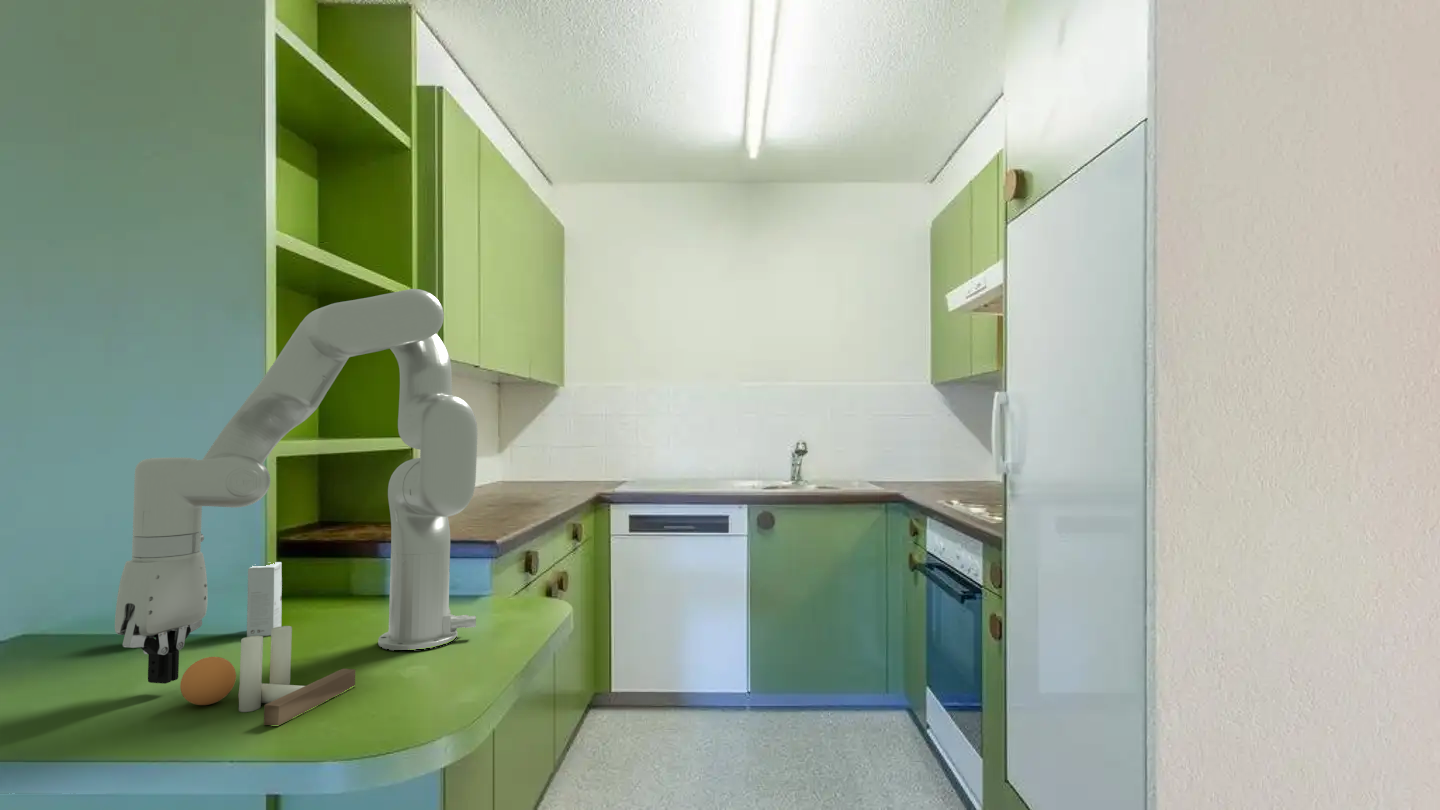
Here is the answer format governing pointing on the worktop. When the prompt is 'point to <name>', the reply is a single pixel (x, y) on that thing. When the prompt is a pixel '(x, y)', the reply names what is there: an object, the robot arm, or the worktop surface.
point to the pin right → (280, 655)
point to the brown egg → (208, 680)
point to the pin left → (250, 673)
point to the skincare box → (264, 599)
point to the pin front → (275, 691)
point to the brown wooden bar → (308, 697)
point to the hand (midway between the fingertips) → (163, 680)
